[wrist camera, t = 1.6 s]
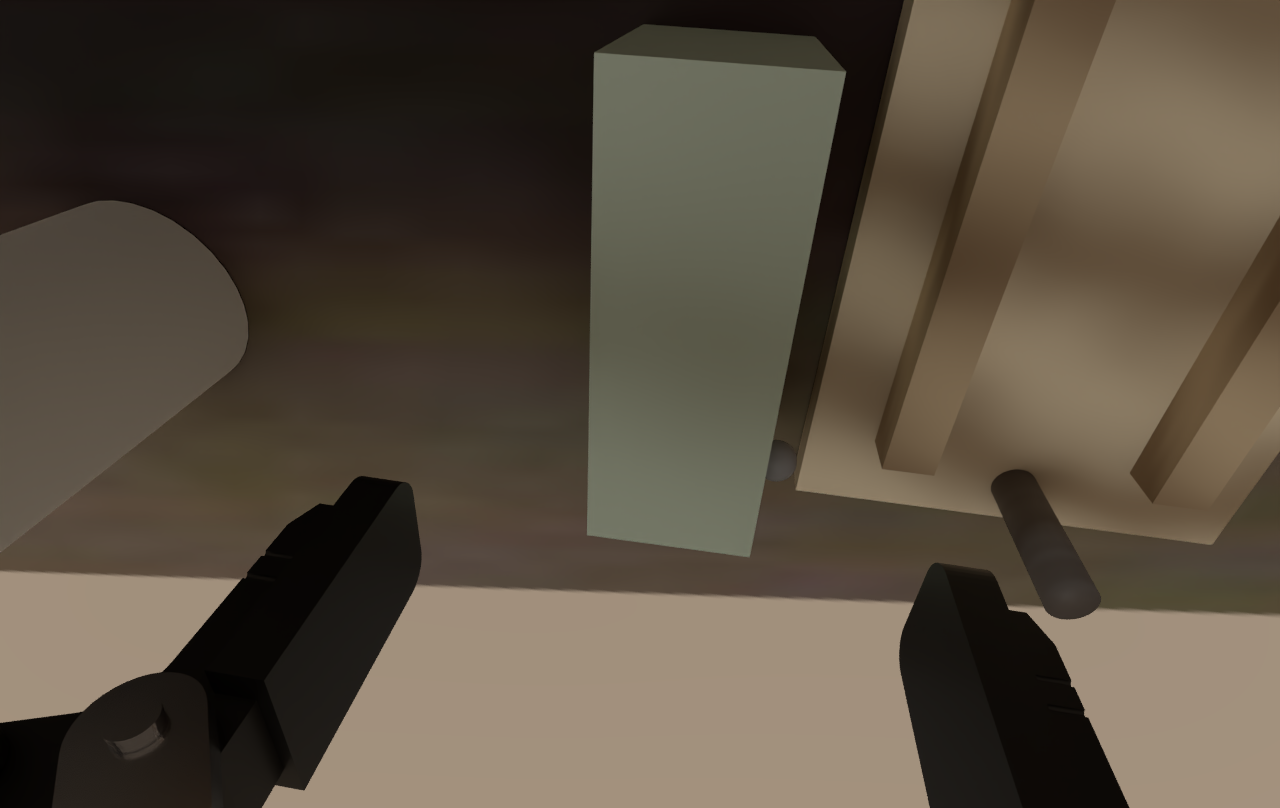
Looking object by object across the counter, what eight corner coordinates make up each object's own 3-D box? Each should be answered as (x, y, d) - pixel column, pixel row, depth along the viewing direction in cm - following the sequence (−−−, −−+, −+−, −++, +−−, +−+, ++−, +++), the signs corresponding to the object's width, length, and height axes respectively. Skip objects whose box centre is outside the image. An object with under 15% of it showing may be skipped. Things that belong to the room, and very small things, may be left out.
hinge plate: (969, -281, 14) (1094, -419, 9) (1719, -250, 13) (2350, -387, 8) (794, 469, 25) (805, 599, 20) (1192, 520, 24) (1313, 672, 19)
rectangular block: (644, 24, 18) (594, 52, 12) (859, 39, 18) (913, 76, 12) (625, 400, 25) (587, 535, 19) (781, 419, 24) (792, 563, 18)
